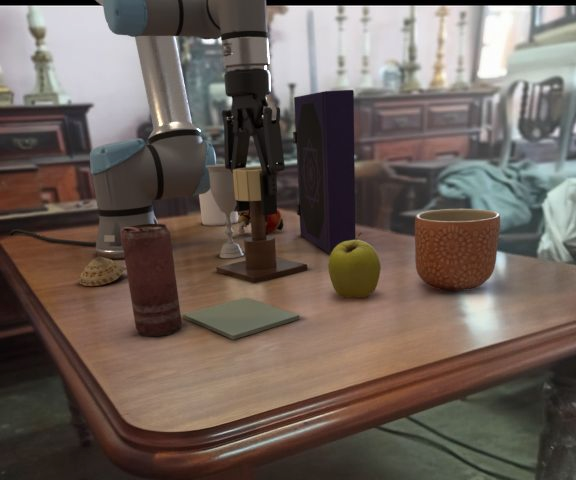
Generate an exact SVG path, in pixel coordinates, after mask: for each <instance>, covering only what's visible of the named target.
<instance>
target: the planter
mask: <svg viewBox="0 0 576 480" xmlns="http://www.w3.org/2000/svg"><path fill="white" fill-rule="evenodd" d="M500 227H501V214H500V213H499V212H497V211H493V210H488V209H481V208H480V209H479V208H444V209H443V208H442V209H433V210H427V211H423V212H422V211H421V212H419V213H416V215H415V218H414V251H415V252H414V256H415V257H414V259H415V260H414V262H415V269H416V272H417V275H418V276H419V278H420V279H421V281H423V282H424V283H425V284H426V285H427V286H429V287H431V288H433V289H436V290H441V291H446V292H447V291H449V292H453V291H454V292H458V291H459V292H461V291H469V290H474V289H477V288H479V287H480V286H483V284H485V283H486V282H487V281H488V280H489V279H490V278H491V276H492V275H493V273H494V271H495V267H496V262H497V256H498V255H497V254H498V245H499V237H500V230H501V229H500Z"/></svg>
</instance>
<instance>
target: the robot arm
mask: <svg viewBox="0 0 576 480" xmlns="http://www.w3.org/2000/svg"><path fill="white" fill-rule="evenodd" d="M95 1H96V3H98V4H99V5H100V6H101V7H103V14H104V19H105V21H106V23H107V27H108V29H109V30H110V31H111V33H113V34H115V35H116V36H127V37H131V38H134V41H135V45H136V50H137V55H138V60H139V64H140V69H141V70H140V71H141V75H142V80H143V85H144V89H145V94H146V99H147V104H148V108H149V113H150V118H151V123H152V128H153V129H152V131H151V133H150V134H149V136H148V143H149V144H146V142H145V141H144V139H143V138H140V137H139V138H132V139H131V138H130V139H126V140H121V141H116V142H111V143H106V144H102V145H99V146H96V147H94V148H93V149H91V150H90V152H89V166H90V174H91V177H92V182H93V188H94V195H95V200H96V206H97V211H98V219H99V222H98V228H97V234H96V235H97V236H96V240H95V241H83V240H73V239H72V240H71V239H62V238H61V239H60V238H53V237H52V238H51V237H48V236H44V235H42V236H40V235H41V234H39V235H37V234H38V233H36V232H33V231H27V230H23V229H18V228H15V229H12V230H11V231H10V233H9V236H13V235H15V233H18V234H19V233H20V234H23V235H27V236H33V237H35V238H38V239H40V240H43V241H46V242H52V243H58V244H68V245H69V244H70V245H79V246H93V247H95V251H96V257H103V258H108V259H111V260H113V259H115V260H119V259H125V257H124V251H123V247H122V241H121V230H122V229H123V228H124V227H130V226H135V225H142V224H159V221H158V220H157V218H156V216H155V211H154V205H153V203H154V202H153V201H158V200H166V199H167V200H168V199H174V198H175V199H176V198H183V197H188V198H191V197H194V196H199V194H204V193H206V192H208V191H209V190H210V188H211V187H210V177H209V171H208V169H207V167H206V166H208V165H215V164H217V159H216V158H217V157H216V152H215V148H214V147H213V144H212V142H211V141H209V140H206V139H203V138H202V137H203V136H202V132H201V129H199V127H197V126H196V125H194V124H193V122H192V116H191V111H190V105H189V101H188V95H187V90H186V86H185V79H184V73H183V70H182V64H181V59H180V54H179V49H178V44H177V43H178V42H177V39H176V37H195V38H196V37H197V38H199V39H201V40H218V39H220V40H221V51H222V61H223V64H222V65H223V68H225V69H227V71H225V72H224V74H223V78H224V92H225V96H227V97H230V98H231V108H229V109H224V110H222V111H221V117H222V122H223V142H224V144H223V145H224V147H223V148H224V164H225V168H226V169H230V170H231V172H232V173H233V170H234V169H238V168H246V167H247V161H248V157H249V156H248V154H249V146H250V140H251V137H252V139H253V143H254V147H255V150H256V153H257V158H258V162H259V164H260V167H261V168H262V172H261V173H260V189H261V204H262V215H264V216H266V215H271V214H277V209H278V202H277V201H278V200H277V195H278V180H277V175H278V174H279V173H280V172H284V171H285V169H286V164H285V158H284V157H285V156H284V148H283V147H284V146H283V141H282V132H281V123H280V121H281V107H280V106H270V105H269V103H268V99H267V96H268V95H270V94H271V93H272V87H271V86H272V85H271V84H272V83H271V82H272V81H271V72H270V71H269V69H267V67H269V66H270V65H271V59H270V46H269V45H270V43H269V38H268V33H269V32H268V12H267V11H268V9H267V0H95ZM236 204H237V211H239V212H240V211H246V210H250V206H249V201H238V200H236Z"/></svg>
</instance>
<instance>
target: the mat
mask: <svg viewBox="0 0 576 480" xmlns="http://www.w3.org/2000/svg"><path fill="white" fill-rule="evenodd" d="M182 318H183V319H184V320H187V321H189V322H192V323H194V324H196V325H199V326H200V327H203V328H205V329H208V330H210V331H212V332H214V333H217V334H218V335H222V336H224V337H226V338H228V339H231V340H233V341H234V340H238V339H241V338H244V337H246V336H251V335H253V334H257V333H259V332H260V333H261V332H263V331H267V330H268V329H272V328H275V327H276V328H277V327H279V326H282V325H285V324H288V323H292V322H295V321H298V320H300V314H297V313H295V312H292V311H288V310H285V309H282V308H278V307H276V306H273V305H271V304H266V303H263V302H260V301H257V300H255V299H252V298H249V297H242V298H238V299H234V300H231V301H226V302H223V303H220V304H216V305H212V306H207V307H204V308H201V309H200V308H199V309H197V310H193V311H191V312H186V313H183V314H182Z"/></svg>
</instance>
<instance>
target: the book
mask: <svg viewBox="0 0 576 480" xmlns="http://www.w3.org/2000/svg"><path fill="white" fill-rule="evenodd" d="M354 92H355V91H354V90H353V89H342V90H341V89H340V90H324V91H318V92H315V93H308V94H304V95H298V96H294V97H293V104H294V105H293V107H294V124H295V125H294V127H295V131H293V132H292V137H293V138H292V139H293V142H292V143H293V144H295V147H296V164H297V165H296V167H297V169H296V170H297V189H298V190H297V191H298V192H297V193H298V203H296V215H297V216H299V232H300V236H301V237H302V238H304V239H305V240H307V241H308V242H309V243H311V244H313V245H315V246H316V247H318V248H319V249H321V250H322V251H323V252H325V253H327V254H328V255H329V256H330V255H331V252H332V251H333V249H334V248H335V247H336V246H337V245H338V244H340V243H342V242H344V241H350V240H356V238H357V237H356V173H355V170H356V167H355V166H356V165H355V161H356V160H355V108H354V107H355V100H354V99H355V97H354V95H355V93H354Z"/></svg>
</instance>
